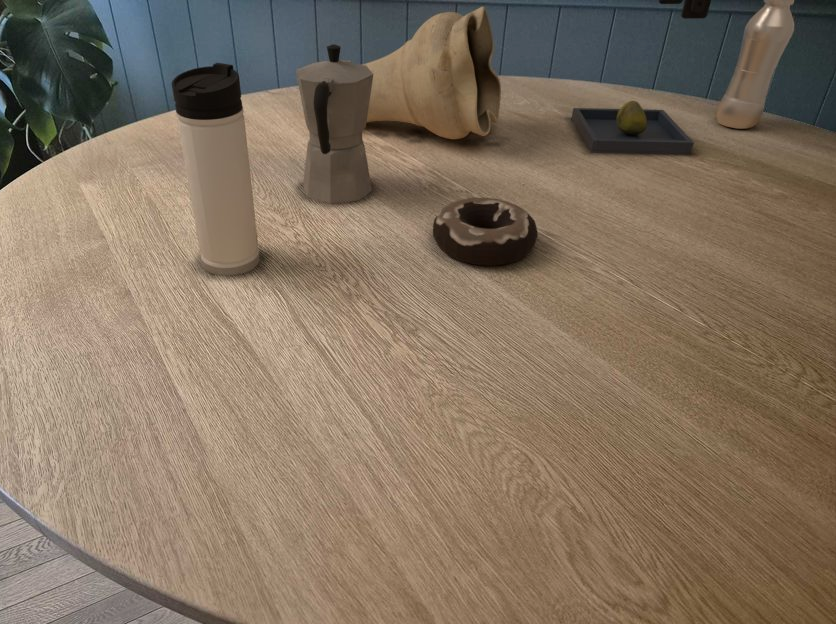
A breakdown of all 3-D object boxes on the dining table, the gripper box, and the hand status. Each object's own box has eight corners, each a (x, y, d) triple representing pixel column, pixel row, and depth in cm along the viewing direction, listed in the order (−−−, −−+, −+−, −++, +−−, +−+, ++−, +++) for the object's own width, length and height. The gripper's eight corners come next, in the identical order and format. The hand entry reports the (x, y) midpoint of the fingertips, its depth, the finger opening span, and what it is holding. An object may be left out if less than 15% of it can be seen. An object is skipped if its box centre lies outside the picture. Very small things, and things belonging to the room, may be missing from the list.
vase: (272, 52, 92) (466, 14, 81) (325, -4, 106) (496, -43, 95) (322, 186, 107) (493, 170, 95) (363, 121, 120) (516, 100, 109)
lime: (617, 126, 105) (625, 94, 102) (648, 133, 103) (657, 100, 100) (608, 135, 102) (616, 102, 99) (639, 141, 100) (648, 108, 97)
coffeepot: (313, 168, 93) (306, 29, 82) (379, 172, 92) (381, 33, 81) (286, 217, 81) (273, 63, 70) (361, 223, 80) (361, 67, 69)
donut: (532, 278, 70) (538, 245, 68) (423, 264, 72) (425, 232, 70) (536, 228, 79) (542, 197, 77) (439, 217, 81) (441, 187, 79)
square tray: (659, 122, 109) (663, 109, 108) (689, 156, 97) (694, 142, 96) (570, 120, 109) (573, 107, 108) (590, 154, 98) (593, 140, 97)
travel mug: (272, 254, 74) (254, 67, 62) (239, 282, 69) (212, 86, 57) (225, 242, 76) (199, 59, 64) (190, 269, 71) (154, 76, 59)
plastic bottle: (706, 119, 110) (749, -16, 98) (747, 120, 110) (795, -15, 98) (720, 133, 105) (768, -8, 93) (763, 134, 105) (817, -7, 93)
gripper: (782, -143, 74) (733, 24, 84) (723, -146, 88) (687, -2, 98) (714, -142, 74) (673, 24, 85) (666, -145, 88) (636, -2, 98)
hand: (681, 10), depth 91 cm, fingers open, 9 cm apart
